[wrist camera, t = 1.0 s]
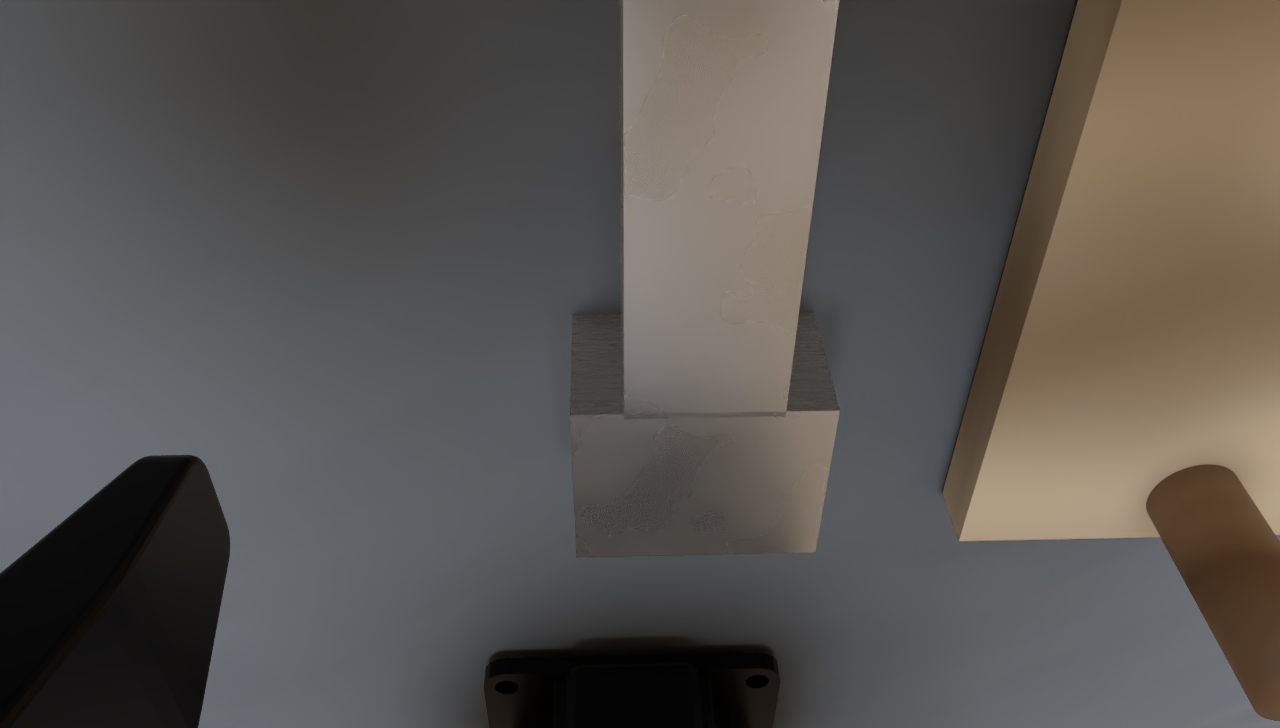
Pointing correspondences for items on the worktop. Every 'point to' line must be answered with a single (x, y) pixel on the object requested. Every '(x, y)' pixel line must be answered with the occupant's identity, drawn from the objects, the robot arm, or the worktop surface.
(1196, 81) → the peg board
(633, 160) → the beige stepped post
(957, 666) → the worktop surface
